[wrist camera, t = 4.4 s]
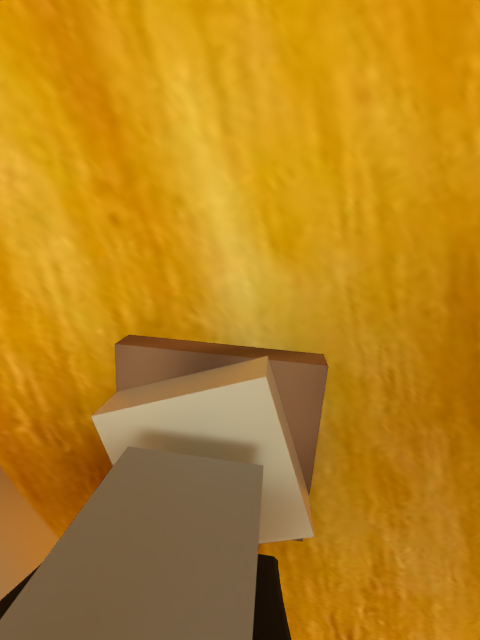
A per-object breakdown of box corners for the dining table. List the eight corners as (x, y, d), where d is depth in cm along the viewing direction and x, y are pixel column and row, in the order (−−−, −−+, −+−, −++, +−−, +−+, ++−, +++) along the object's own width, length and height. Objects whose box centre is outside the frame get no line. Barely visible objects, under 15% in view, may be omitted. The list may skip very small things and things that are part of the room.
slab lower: (321, 349, 14) (328, 365, 12) (299, 506, 17) (302, 541, 15) (135, 330, 15) (114, 343, 13) (138, 483, 18) (121, 513, 16)
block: (263, 465, 10) (246, 726, 5) (252, 573, 11) (228, 882, 6) (128, 446, 10) (-33, 664, 5) (130, 552, 11) (2, 821, 6)
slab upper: (267, 355, 13) (266, 376, 11) (309, 496, 14) (314, 536, 12) (116, 391, 14) (90, 416, 12) (168, 517, 15) (153, 557, 13)
